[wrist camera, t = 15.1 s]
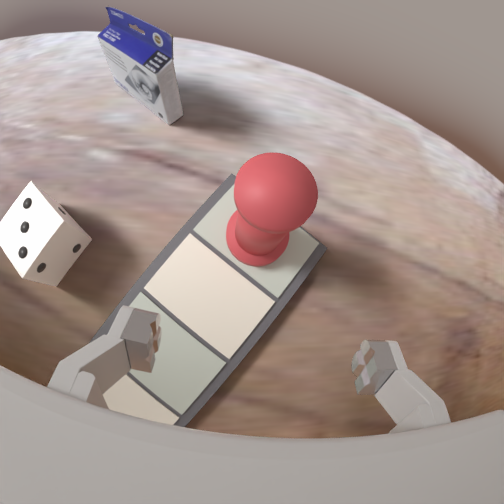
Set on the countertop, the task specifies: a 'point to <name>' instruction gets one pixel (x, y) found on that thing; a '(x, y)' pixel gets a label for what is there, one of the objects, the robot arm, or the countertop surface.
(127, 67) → the ink box
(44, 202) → the die
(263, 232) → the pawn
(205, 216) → the game board
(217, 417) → the countertop surface
